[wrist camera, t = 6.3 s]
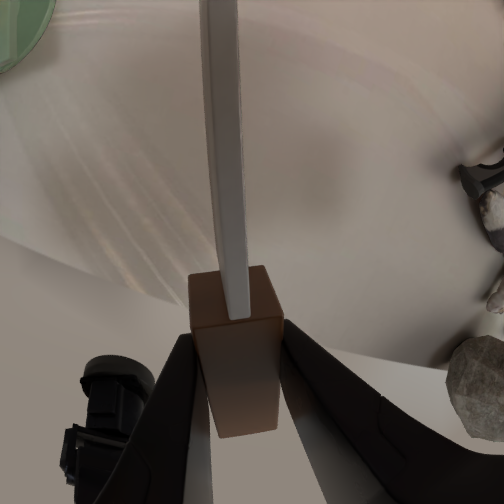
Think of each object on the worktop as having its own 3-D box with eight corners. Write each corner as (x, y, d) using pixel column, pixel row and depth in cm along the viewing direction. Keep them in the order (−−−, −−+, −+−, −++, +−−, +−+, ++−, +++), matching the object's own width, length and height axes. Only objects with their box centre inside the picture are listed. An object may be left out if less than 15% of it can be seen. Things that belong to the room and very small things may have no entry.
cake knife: (265, 385, 11) (281, 441, 9) (212, 394, 11) (221, 451, 9) (254, -56, 4) (287, -109, 2) (160, -52, 4) (150, -108, 2)
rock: (555, 419, 15) (575, 328, 21) (432, 363, 29) (476, 291, 36) (507, 469, 22) (540, 392, 28) (415, 421, 36) (459, 357, 42)
